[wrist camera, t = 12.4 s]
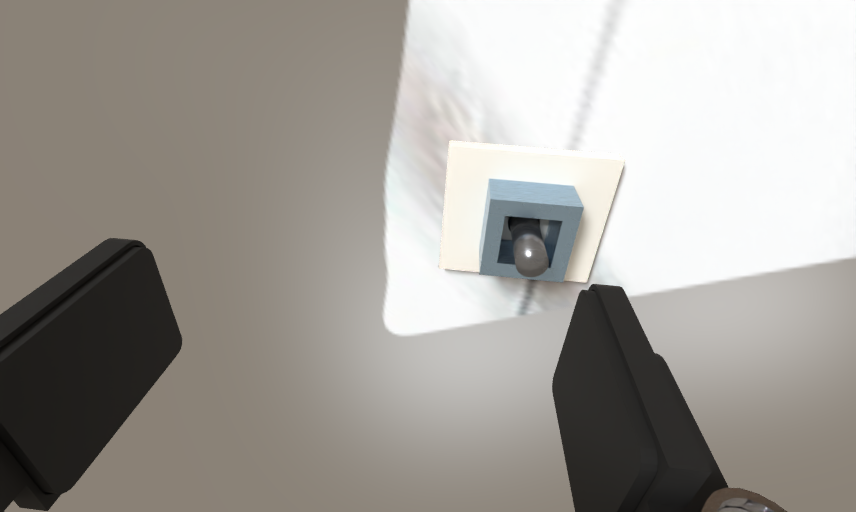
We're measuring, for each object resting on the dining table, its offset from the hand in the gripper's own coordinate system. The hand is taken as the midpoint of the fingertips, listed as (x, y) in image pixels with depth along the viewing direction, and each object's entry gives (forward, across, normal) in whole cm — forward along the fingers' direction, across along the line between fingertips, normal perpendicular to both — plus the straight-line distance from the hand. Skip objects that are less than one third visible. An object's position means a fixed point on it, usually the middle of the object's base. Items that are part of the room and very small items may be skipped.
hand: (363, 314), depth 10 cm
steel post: (+27, -8, +11) cm, 30 cm away
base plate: (+28, -8, +11) cm, 31 cm away
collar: (+27, -8, +11) cm, 30 cm away
